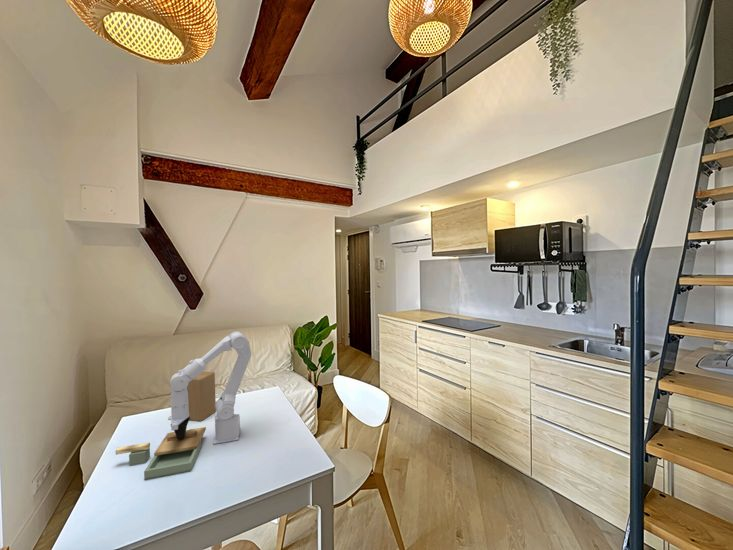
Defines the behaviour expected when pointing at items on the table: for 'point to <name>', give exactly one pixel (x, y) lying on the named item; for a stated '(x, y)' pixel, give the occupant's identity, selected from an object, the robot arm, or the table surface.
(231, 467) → the table surface
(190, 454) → the green piece
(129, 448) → the light wooden bar
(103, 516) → the table surface
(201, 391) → the wooden block
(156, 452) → the lid
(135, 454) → the block
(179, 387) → the robot arm
